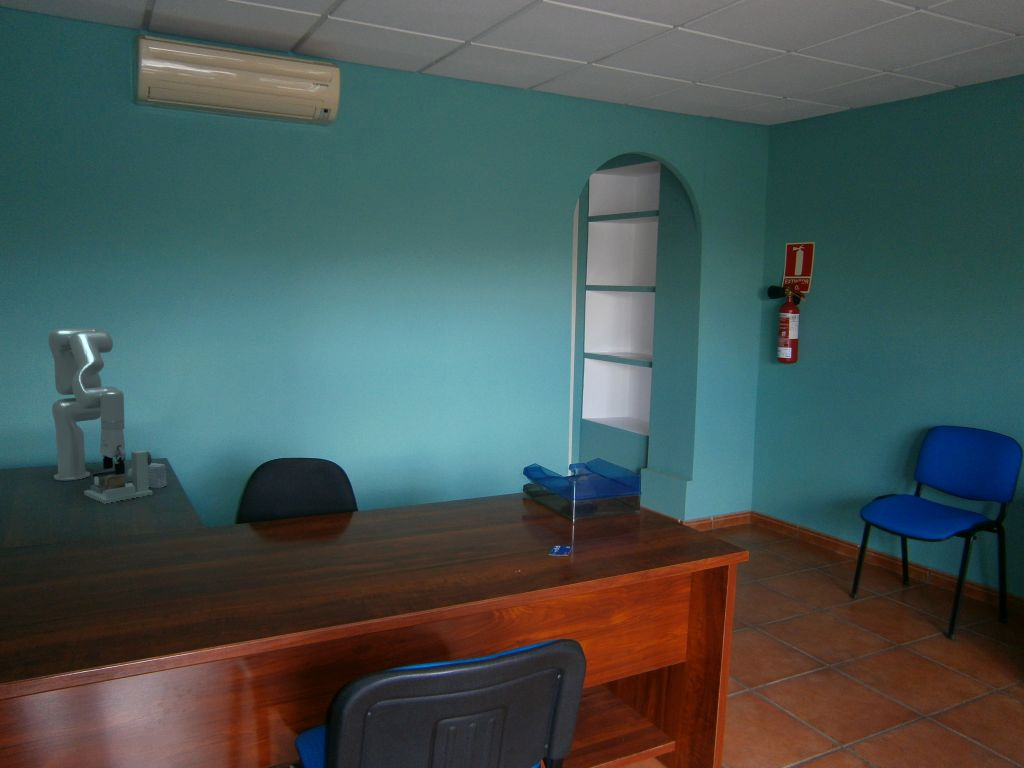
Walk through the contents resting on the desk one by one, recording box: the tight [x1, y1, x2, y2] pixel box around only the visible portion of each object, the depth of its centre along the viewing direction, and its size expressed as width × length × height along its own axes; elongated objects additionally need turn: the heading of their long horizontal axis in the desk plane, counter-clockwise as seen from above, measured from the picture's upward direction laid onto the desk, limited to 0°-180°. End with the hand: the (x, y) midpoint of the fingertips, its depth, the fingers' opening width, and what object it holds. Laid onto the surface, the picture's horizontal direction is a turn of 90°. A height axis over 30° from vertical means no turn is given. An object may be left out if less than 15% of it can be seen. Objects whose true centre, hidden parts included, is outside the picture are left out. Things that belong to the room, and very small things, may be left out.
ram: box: [90, 469, 116, 490], centre depth 292 cm, size 4×8×6 cm, turn 139°
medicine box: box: [148, 462, 167, 489], centre depth 303 cm, size 8×4×9 cm, turn 71°
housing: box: [105, 475, 126, 490], centre depth 286 cm, size 5×5×6 cm
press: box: [83, 449, 154, 505], centre depth 290 cm, size 18×18×16 cm
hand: (114, 471), depth 286 cm, fingers open, 9 cm apart
